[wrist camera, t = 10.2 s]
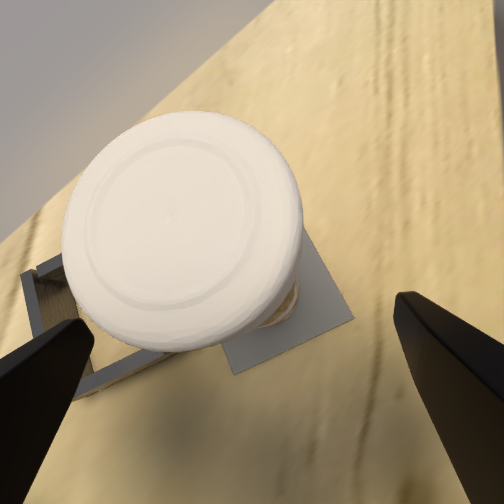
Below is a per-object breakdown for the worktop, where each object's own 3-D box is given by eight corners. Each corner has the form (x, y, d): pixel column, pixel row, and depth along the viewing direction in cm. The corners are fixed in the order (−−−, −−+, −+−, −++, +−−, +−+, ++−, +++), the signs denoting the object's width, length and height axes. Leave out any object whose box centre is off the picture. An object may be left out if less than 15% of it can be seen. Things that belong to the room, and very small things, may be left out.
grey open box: (202, 340, 18) (183, 345, 15) (87, 396, 18) (48, 411, 15) (159, 229, 20) (136, 214, 17) (59, 280, 21) (20, 274, 18)
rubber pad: (353, 318, 17) (354, 318, 16) (235, 374, 17) (233, 375, 17) (292, 209, 19) (292, 207, 19) (189, 261, 19) (187, 260, 19)
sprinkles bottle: (235, 332, 17) (42, 376, 4) (225, 262, 18) (51, 133, 6) (308, 320, 17) (335, 331, 4) (293, 249, 18) (275, 70, 5)
